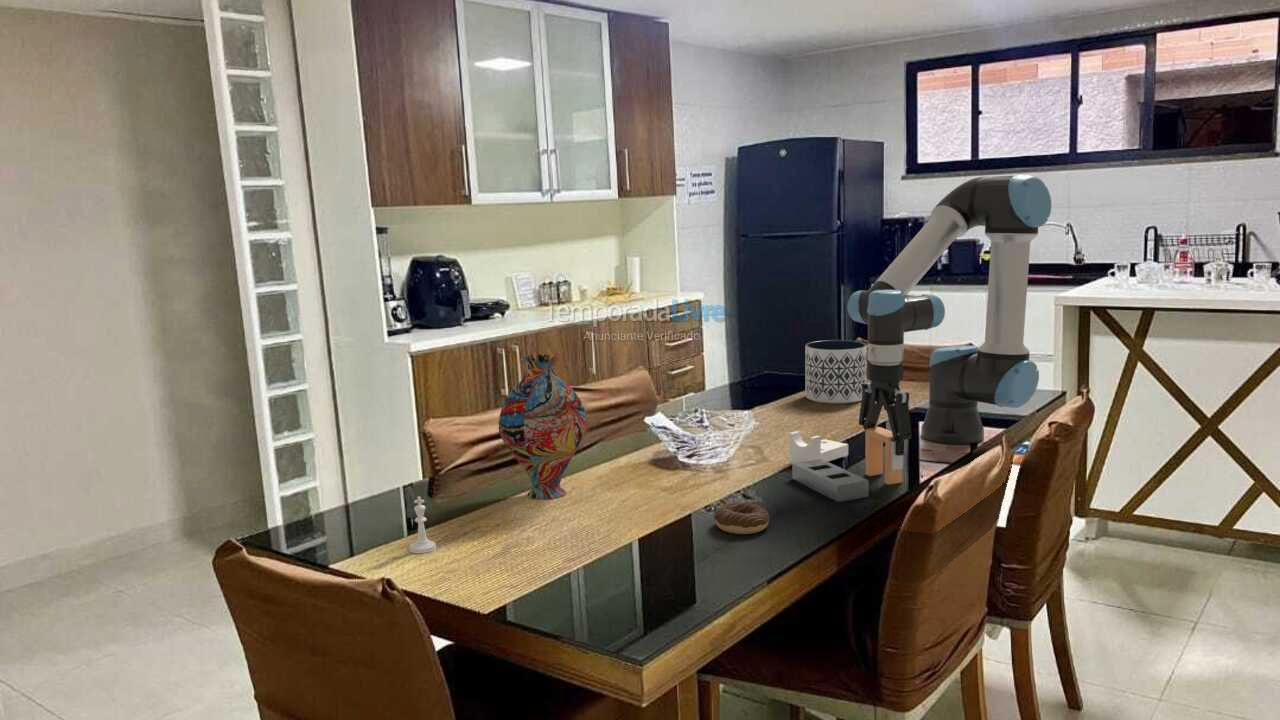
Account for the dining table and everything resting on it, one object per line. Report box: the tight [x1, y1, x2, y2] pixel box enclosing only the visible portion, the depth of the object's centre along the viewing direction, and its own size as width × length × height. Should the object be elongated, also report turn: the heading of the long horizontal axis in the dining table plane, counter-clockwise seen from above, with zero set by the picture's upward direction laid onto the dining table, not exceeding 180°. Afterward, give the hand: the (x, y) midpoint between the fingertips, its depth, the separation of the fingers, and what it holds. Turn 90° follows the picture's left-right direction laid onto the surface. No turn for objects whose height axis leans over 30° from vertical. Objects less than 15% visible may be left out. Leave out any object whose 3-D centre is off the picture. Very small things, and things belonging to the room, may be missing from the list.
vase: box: [498, 353, 588, 501], centre depth 204 cm, size 19×19×30 cm
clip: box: [865, 426, 903, 485], centre depth 209 cm, size 4×8×10 cm, turn 22°
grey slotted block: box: [791, 459, 870, 503], centre depth 205 cm, size 8×18×4 cm, turn 22°
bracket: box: [788, 430, 849, 465], centre depth 225 cm, size 13×7×8 cm, turn 131°
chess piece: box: [408, 496, 437, 554], centre depth 176 cm, size 5×5×10 cm
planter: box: [804, 339, 868, 405], centre depth 290 cm, size 18×18×16 cm
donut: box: [713, 501, 771, 535], centre depth 183 cm, size 11×11×4 cm
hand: (883, 463), depth 210 cm, fingers closed on clip, 8 cm apart
